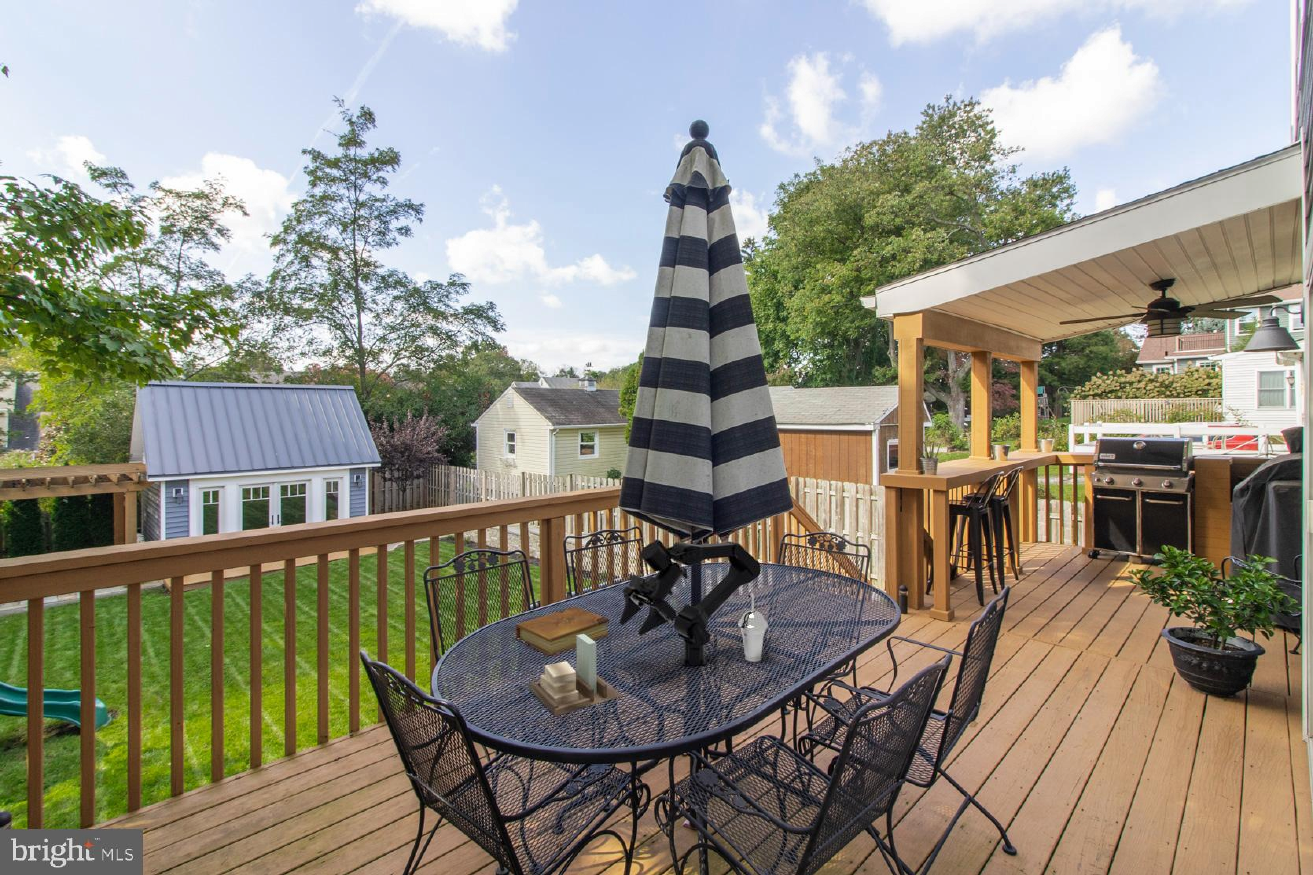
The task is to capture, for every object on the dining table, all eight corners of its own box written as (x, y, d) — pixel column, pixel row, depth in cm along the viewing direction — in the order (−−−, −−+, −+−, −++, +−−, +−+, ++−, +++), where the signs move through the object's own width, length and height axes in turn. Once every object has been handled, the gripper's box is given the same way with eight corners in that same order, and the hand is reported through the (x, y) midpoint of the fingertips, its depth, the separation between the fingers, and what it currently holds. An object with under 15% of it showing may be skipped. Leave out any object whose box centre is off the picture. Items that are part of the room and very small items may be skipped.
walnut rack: (593, 675, 158) (593, 661, 158) (623, 698, 144) (622, 683, 144) (529, 692, 148) (529, 678, 148) (555, 719, 134) (555, 703, 134)
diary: (574, 622, 200) (574, 605, 200) (609, 636, 187) (609, 618, 187) (515, 640, 184) (515, 622, 184) (549, 657, 171) (549, 638, 170)
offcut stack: (564, 686, 149) (563, 659, 149) (579, 701, 142) (579, 671, 141) (539, 693, 145) (539, 665, 145) (554, 708, 138) (554, 678, 138)
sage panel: (584, 683, 151) (583, 633, 151) (596, 693, 145) (596, 642, 145) (577, 685, 150) (576, 635, 150) (589, 695, 144) (588, 644, 144)
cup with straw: (773, 658, 168) (773, 589, 167) (755, 667, 162) (755, 596, 161) (749, 650, 174) (749, 583, 173) (730, 659, 168) (730, 590, 167)
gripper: (628, 556, 164) (593, 602, 158) (667, 570, 149) (630, 621, 143) (651, 580, 169) (618, 625, 163) (691, 596, 153) (656, 647, 147)
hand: (629, 629), depth 154 cm, fingers open, 9 cm apart
